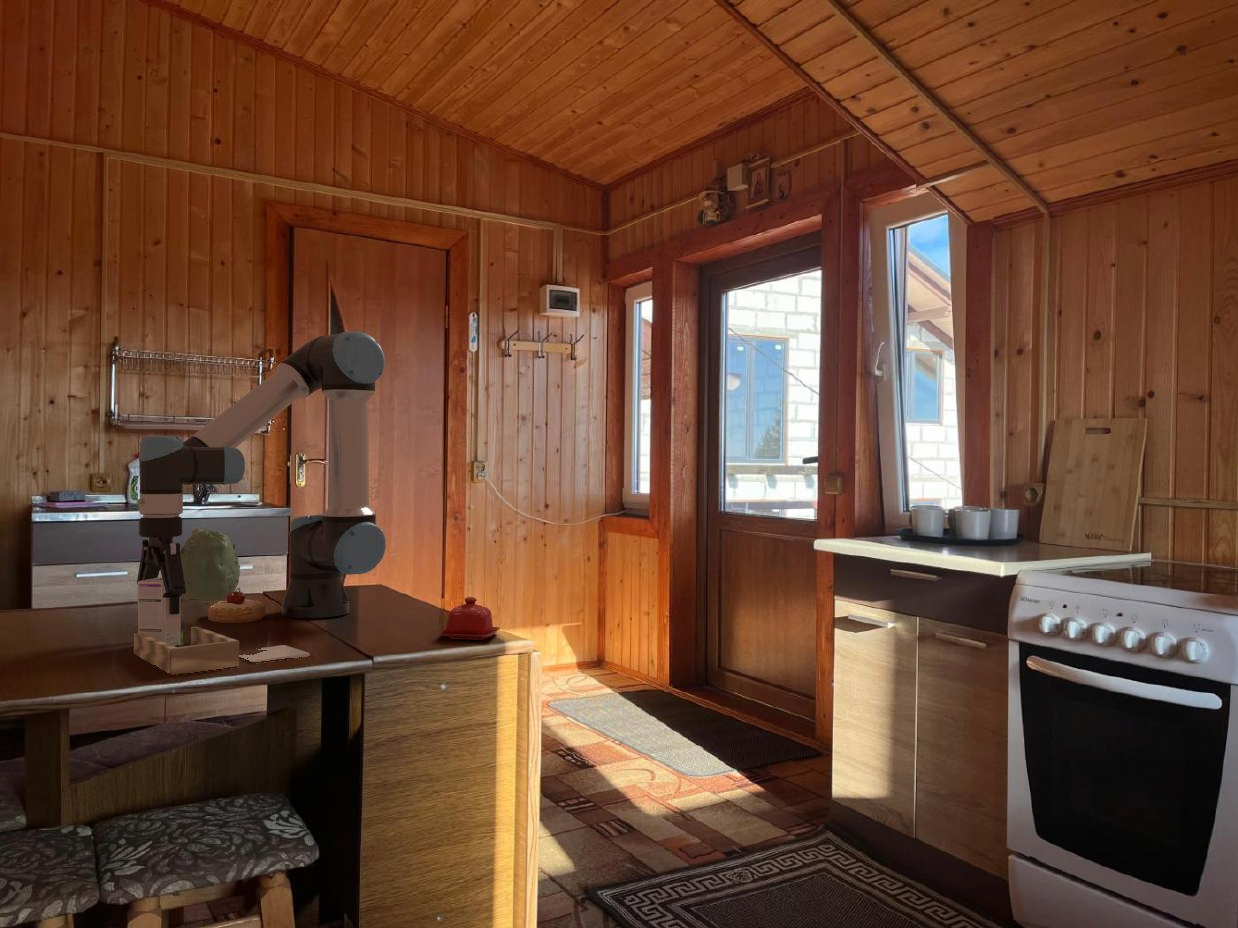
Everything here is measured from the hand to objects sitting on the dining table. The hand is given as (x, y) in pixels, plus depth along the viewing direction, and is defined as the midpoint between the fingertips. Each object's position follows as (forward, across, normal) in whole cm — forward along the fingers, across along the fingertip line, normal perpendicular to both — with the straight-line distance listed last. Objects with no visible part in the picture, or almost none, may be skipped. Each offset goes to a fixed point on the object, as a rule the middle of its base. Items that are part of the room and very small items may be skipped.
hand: (160, 627), depth 181 cm
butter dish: (+6, +24, +55) cm, 60 cm away
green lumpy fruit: (+5, -53, +28) cm, 60 cm away
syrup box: (+5, 0, 0) cm, 5 cm away
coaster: (+5, +17, +14) cm, 23 cm away
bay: (+5, +13, 0) cm, 14 cm away
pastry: (+5, -21, +23) cm, 31 cm away
